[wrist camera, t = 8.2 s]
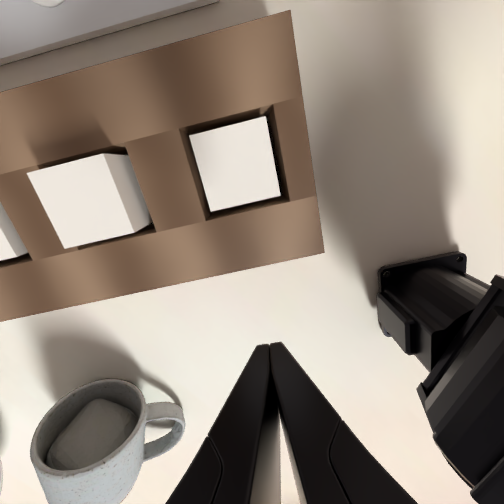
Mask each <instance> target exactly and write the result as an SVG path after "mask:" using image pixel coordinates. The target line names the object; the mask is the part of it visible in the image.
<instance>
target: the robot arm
mask: <svg viewBox="0 0 504 504" xmlns="http://www.w3.org/2000/svg"><path fill="white" fill-rule="evenodd" d="M458 257H459V259H458V260H457V258H458ZM466 262H467V257H466V255H465V254H464V253H461V252H452V253H447V254H442V255H437V256H432V257H427V258H422V259H418V260H413V261H408V262H403V263H398V264H393V265H388V266H384V267H381V268H380V269H379V271H378V283H379V293H378V294H377V307H378V320H379V322H380V323H381V327H382V332H383V333H384V335H385V336H387V337H392V338H393V339H394V340H395V341H396V342H397V344H398V345H399V346H400V347H401V348H402V350H403V351H404V352H405V353H406V354H408V355H415V356H416V357H417V358H418V360H419V361H420V362H421V363H422V364H423V365H424V366H425V368H426V369H427V370H428V371H429V372H430V373H429V375H428V376H427V378H426V379H425V381H424V382H423V383H422V382H421V383H420V384H419V386H418V387H417V392H418V395H419V397H420V400H421V402H422V405H423V408H424V410H425V413H426V415H427V418H428V420H429V423H430V426H431V428H432V431H433V433H434V434H433V439H434V441H435V443H436V445H437V446H438V448H439V449H440V450H441V452H442V454H443V456H444V457H445V459H446V460H447V462H448V464H449V465H450V466H451V467H452V468H453V469H454V471H455V472H456V473H457V474H458V476H459V477H460V478H461V479H462V480H463V481H464V482H465V483H466V484H467V485H468V486H469V487H470V488H472V490H471V491H470V495H471V496H472V498H473V499H474V500H475V501H476V502H477V503H478V504H504V277H503V276H500V275H495V276H494V278H493V279H492V281H491V282H490V283H491V284H492V285H491V286H490V285H488V284H486V283H484V282H482V281H480V280H478V279H476V278H474V277H472V276H470V275H468V274H466ZM386 271H388V272H387V274H386V275H383V274H384V272H386ZM387 331H388V332H387ZM279 414H280V416H279ZM280 419H281V424H282V428H283V432H284V437H285V441H286V445H287V449H288V453H289V458H290V462H291V466H292V470H293V474H294V479H295V483H296V487H297V491H298V495H299V500H300V504H418V503H417V502H416V501H415V500H414V499H413V498H412V497H411V496H410V495H409V494H408V493H407V492H406V491H405V490H404V489H403V488H402V487H401V486H400V485H399V484H398V482H397V481H396V480H395V479H394V478H393V477H392V476H391V475H390V474H389V473H388V472H387V471H386V470H385V469H384V468H383V467H382V466H381V464H380V463H379V462H378V461H377V460H376V459H375V458H374V457H373V456H372V455H371V454H370V453H369V451H368V450H367V449H366V448H365V447H364V445H363V444H362V443H361V442H360V441H359V439H358V438H357V437H356V436H355V435H354V433H353V432H352V431H351V429H350V428H349V427H348V426H347V424H346V423H345V422H344V421H343V420H342V419H341V417H340V416H339V414H338V413H337V412H336V411H335V409H334V408H333V407H332V405H331V404H330V403H329V402H328V400H327V399H326V398H325V397H324V395H323V394H322V393H321V391H320V390H319V389H318V388H317V386H316V385H315V384H314V382H313V381H312V380H311V379H310V377H309V376H308V375H307V374H306V372H305V371H304V370H303V368H302V367H301V366H300V365H299V363H298V362H297V361H296V359H295V358H294V357H293V356H292V354H291V353H290V352H289V351H288V349H287V348H286V347H285V345H284V344H283V343H282V342H275V343H271V344H270V346H269V344H262V345H257V346H256V348H255V350H254V351H253V353H252V355H251V357H250V359H249V360H248V362H247V364H246V366H245V368H244V369H243V371H242V373H241V375H240V377H239V379H238V380H237V382H236V384H235V386H234V388H233V389H232V391H231V393H230V395H229V397H228V398H227V400H226V402H225V404H224V406H223V408H222V409H221V411H220V413H219V415H218V417H217V418H216V420H215V422H214V424H213V426H212V427H211V429H210V431H209V433H208V436H207V437H206V438H205V440H204V442H203V443H202V445H201V447H200V449H199V451H198V452H197V454H196V456H195V458H194V459H193V461H192V463H191V464H190V466H189V468H188V470H187V471H186V473H185V474H184V476H183V477H182V479H181V481H180V482H179V484H178V485H177V487H176V488H175V490H174V491H173V493H172V494H171V496H170V497H169V499H168V500H167V502H166V503H165V504H281V474H280Z"/></svg>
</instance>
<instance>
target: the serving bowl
mask: <svg viewBox="0 0 504 504" xmlns="http://www.w3.org/2000/svg"><path fill="white" fill-rule="evenodd" d="M2 482H3V468H2V462H1V458H0V495H1V491H2Z"/></svg>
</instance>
